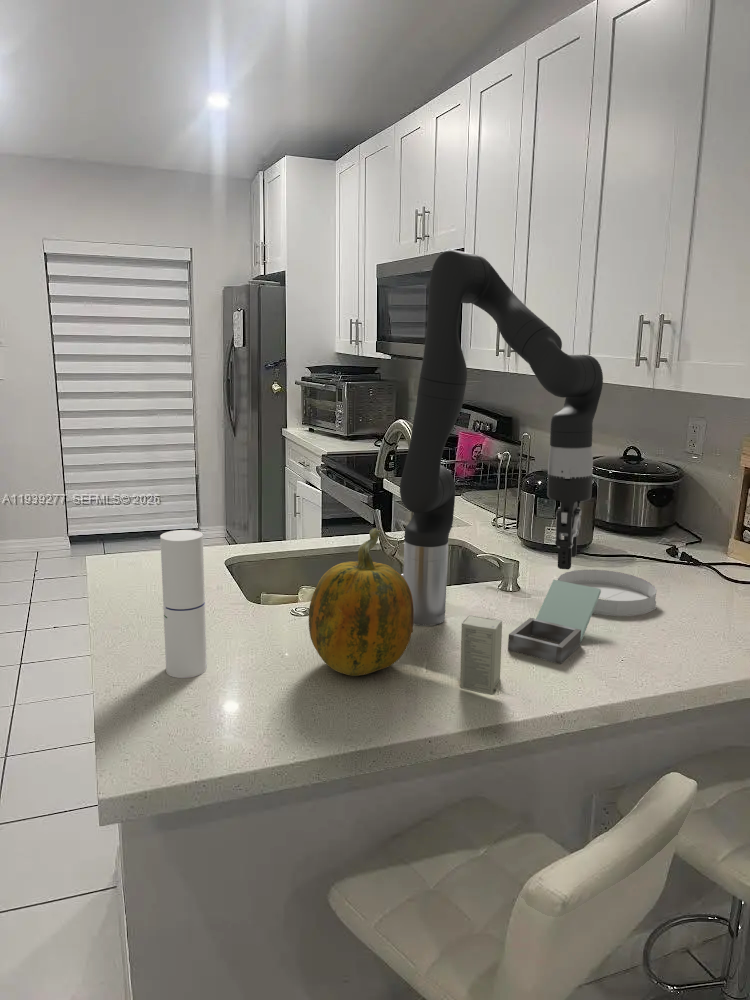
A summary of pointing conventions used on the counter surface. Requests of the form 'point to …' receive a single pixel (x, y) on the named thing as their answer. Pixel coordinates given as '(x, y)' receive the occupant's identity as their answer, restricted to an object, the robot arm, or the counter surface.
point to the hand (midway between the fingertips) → (567, 562)
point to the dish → (616, 591)
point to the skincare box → (480, 654)
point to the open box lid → (569, 605)
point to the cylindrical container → (184, 603)
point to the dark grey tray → (542, 649)
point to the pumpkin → (361, 614)
